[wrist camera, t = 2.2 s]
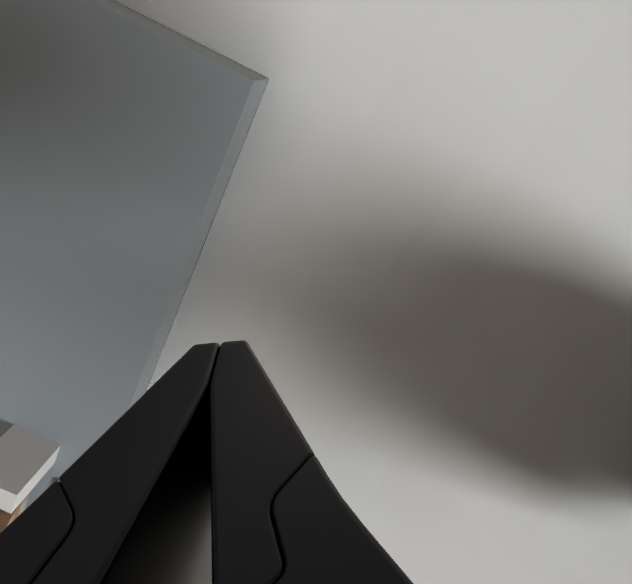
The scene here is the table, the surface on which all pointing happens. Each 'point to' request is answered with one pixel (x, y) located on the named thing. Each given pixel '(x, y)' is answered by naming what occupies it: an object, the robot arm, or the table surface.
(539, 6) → the table surface
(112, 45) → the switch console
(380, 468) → the table surface
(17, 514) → the cream capped lever
